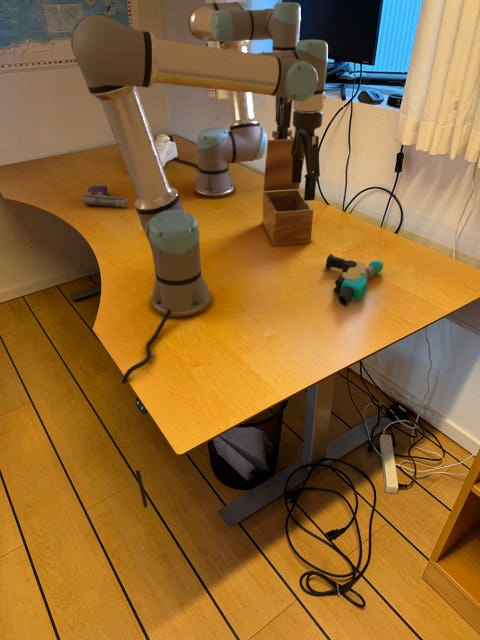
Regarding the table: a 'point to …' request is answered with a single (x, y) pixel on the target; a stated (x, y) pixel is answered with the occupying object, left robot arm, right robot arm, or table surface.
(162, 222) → the left robot arm
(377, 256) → the table surface
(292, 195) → the chest
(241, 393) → the table surface
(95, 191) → the toy gun
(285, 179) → the lid
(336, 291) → the toy gun
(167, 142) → the sneaker
